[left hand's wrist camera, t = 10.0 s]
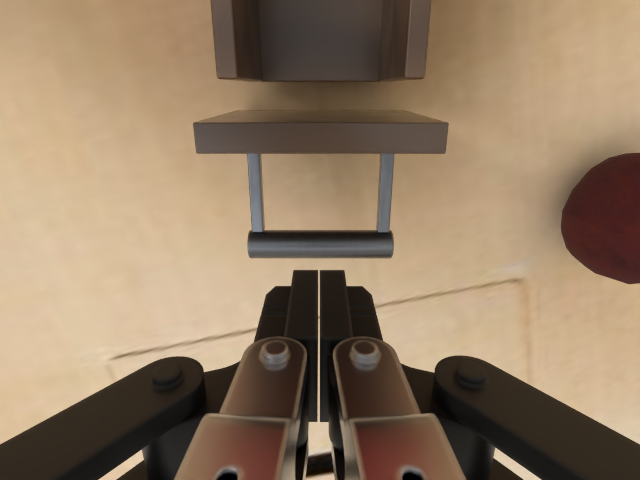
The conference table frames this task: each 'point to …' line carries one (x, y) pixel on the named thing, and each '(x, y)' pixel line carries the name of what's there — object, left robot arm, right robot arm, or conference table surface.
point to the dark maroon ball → (606, 219)
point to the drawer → (320, 126)
